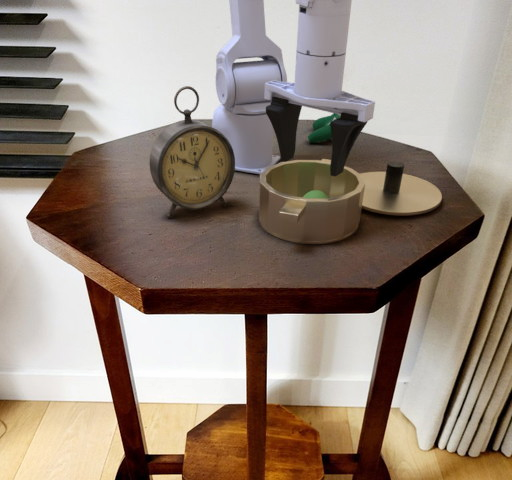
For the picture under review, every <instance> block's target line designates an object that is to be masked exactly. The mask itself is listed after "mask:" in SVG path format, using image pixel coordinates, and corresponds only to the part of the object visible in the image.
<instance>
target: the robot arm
mask: <svg viewBox="0 0 512 480" xmlns="http://www.w3.org/2000/svg"><path fill="white" fill-rule="evenodd" d="M228 2H229V12H230V25H231V37H230V39H229V40H228V41H227V42H226V43H225V44H224V45H223V46H222V48H221V49H219V51H218V52H217V54H216V56H215V57H216V58H215V65H216V66H215V67H216V68H215V69H216V70H215V71H216V73H215V90H216V95H217V98H218V101H219V103H220V104H219V105H218V106H217V107H216V108H215V110H214V112H213V115H212V120H211V127H212V128H215V129H216V130H218V131H220V132H221V133H222V134H223V135H224V136H225V137H226V138H227V139H228V141H229V142H230V144H231V146H232V149H233V152H234V156H235V171H238V172H243V173H248V174H249V173H250V174H256V175H260V174H261V173H262V172H263V171H264V170H265V169H266V168H267V167H270V166H273V165H275V164H278V163H279V161H280V160H281V161H280V162H287V161H291V160H293V159H294V157H295V154H296V144H297V131H298V126H299V120H300V115H301V111H302V108H303V107H304V108H310V109H314V110H318V111H322V112H327V113H331V114H333V113H335V114H340V115H341V116H340V118H337V119H335V120H333V121H331V122H330V127H331V134H332V141H331V158H330V160H331V166H330V175H331V176H337V175H339V174H340V173H342V172H343V169H344V166H346V163H347V160H348V158H349V155H350V153H351V150H352V148H353V146H354V145H355V143H356V141H357V139H358V138H359V136H360V134H361V132H362V131H363V129H364V128H365V126H366V125H367V123H368V122H369V121H371V120H372V119H373V118H374V112H375V107H376V101H374V100H370V99H366V98H364V97H361V96H358V95H355V94H353V93H349V92H348V91H345V90H343V83H344V73H345V66H346V65H345V64H346V56H347V47H348V38H349V29H350V19H351V12H352V10H351V9H352V4H353V3H352V2H353V0H295V4H296V5H298V19H297V35H296V36H297V37H296V38H297V39H296V51H295V70H294V82H289V81H288V76H287V75H288V74H287V70H286V67H285V63H284V57H283V51H282V48H281V47H280V46H279V45H278V44H277V43H276V42H274V41H273V40H272V39H271V38H270V37H268V35H267V34H266V33H267V31H266V16H265V2H264V0H228ZM254 58H259V59H261V60H251V61H250V60H249V61H237V62H236V60H241V59H254ZM274 134H275V138H276V141H277V146H278V150H279V155H277V154H273V152H274V151H273V147H274V144H273V143H274Z"/></svg>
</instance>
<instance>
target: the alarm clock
mask: <svg viewBox="0 0 512 480" xmlns="http://www.w3.org/2000/svg"><path fill="white" fill-rule="evenodd" d="M186 90H190V91H192V92H193V93H194V94H195V95H194V96H196V97H195V98H196V103H195V105H194V107H193V108H192V109H191V110H190V109H185V110H183V111H182V110H181V109H180V108H179V107H178V103H177V100H178V96H179V94H180V93H181V92H183V91H186ZM173 103H174V104H173V105H174V107H175V109H176V110H177V111H178V112H179V113H180V114H182V115H183V116H184V119H182V120H178V121H176V122H173V123H171V124H170V125H168V126H167V127H166V128H163V130H162V131H161V132H160V133H159V134H158V136H157V137H156V139H155V141H154V143H153V145H152V147H151V149H150V154H149V172H150V176H151V178H152V181H153V183H154V185H155V187H156V188H157V189H158V190H159V191H160V192H161V194H162V195H164V196H165V197H166V198H167V199H168V200H169V201H170V202H171V205H170V207H169V211H168V213H167V214H166V218H168V219H171V218H172V214H174V212H175V210H177V209H176V208H177V207H180V208H182V209H186V210H200V209H205V208H207V207H211V206H212V205H214V204H215V203H216V202H218V201H220V202H221V203H222V205H223V206H225V207H226V206H227V205H228V201H227V200H225V199H224V197H223V196H224V195H225V194H226V193H227V191H228V190H229V188H230V186H231V185H232V183H233V179H234V177H235V172H236V170H235V156H234V152H233V149H232V146H231V144H230V142H229V141H228V139H227V138H226V137H225V136H224V135H223V134H222V133H221V132H220V131H218V130H216V129H215V128H212V125H211V126H210V125H209V124H207V123H205V122H202V121H200V120H197V119H192V116H191V115H192V113H194V112H195V111H197V109H198V107H199V103H200V95H199V93H198V91H197V90H196V89H195V88H194V87H192V86H189V85H186V86H182V87H180V88H179V89H178V90H177V91H176V93H175V95H174V98H173Z"/></svg>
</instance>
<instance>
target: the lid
mask: <svg viewBox="0 0 512 480" xmlns="http://www.w3.org/2000/svg"><path fill="white" fill-rule="evenodd" d="M404 169H405V163H404V162H402V161H398V160H390V161H388V162H387V163H386V168H385V171H369V172H362V173H361V172H360V173H359V174H360V175H361V176H362V177H363V180H364V182H365V189H364V196H363V202H362V209H361V210H366V211H368V212H372V213H375V214H381V215H388V216H417V215H422V214H426V213H429V212H432V211H433V210H435V209H437V208H439V206H440V205H441V203H442V199H443V195H442V192H441V190H440V189H439V188H438V187H437V186H436V185H434V184H433V183H431V182H430V181H428V180H426V179H423V178H420V177H418V176H414V175H411V174H407V173H404Z"/></svg>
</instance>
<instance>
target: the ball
mask: <svg viewBox="0 0 512 480" xmlns="http://www.w3.org/2000/svg"><path fill="white" fill-rule="evenodd" d="M303 198H319V199H327V198H328V196H327V195H326V194H325V193H324V192H322V191H319V190H313V191H310V192H308V193H306V194H305V195H304V196H303Z"/></svg>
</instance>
